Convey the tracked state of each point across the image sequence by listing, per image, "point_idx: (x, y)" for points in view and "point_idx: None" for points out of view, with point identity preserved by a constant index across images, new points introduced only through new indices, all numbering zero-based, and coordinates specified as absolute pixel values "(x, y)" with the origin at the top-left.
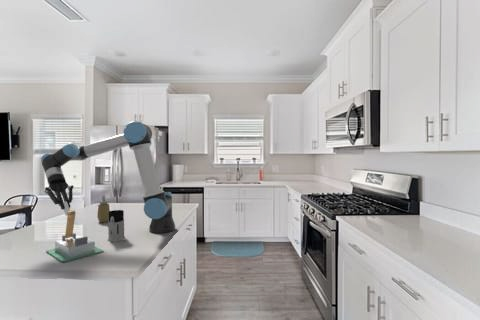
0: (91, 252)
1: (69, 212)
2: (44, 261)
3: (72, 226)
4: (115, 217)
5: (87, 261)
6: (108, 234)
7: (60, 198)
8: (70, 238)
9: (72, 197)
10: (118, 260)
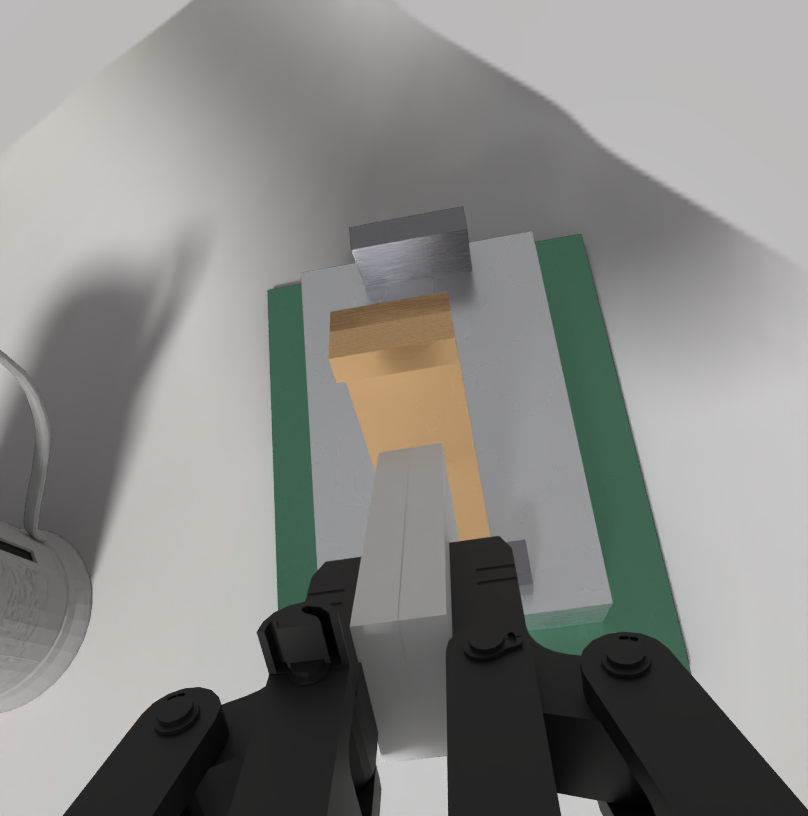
0: None
1: (426, 309)
2: (705, 368)
3: None
4: None
5: (431, 176)
6: (38, 623)
7: (508, 736)
8: None
9: (99, 771)
10: (276, 88)
